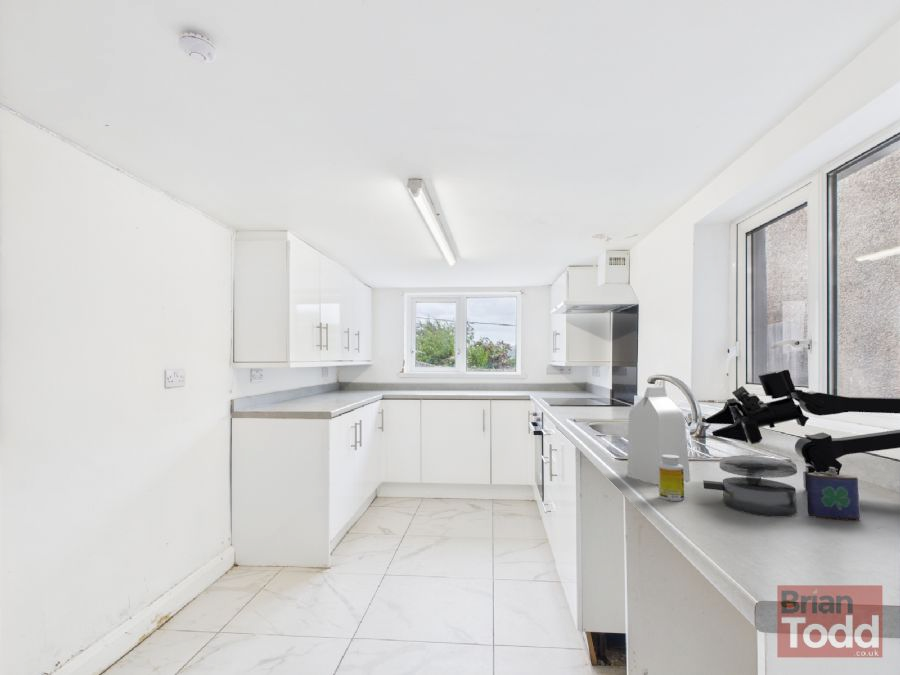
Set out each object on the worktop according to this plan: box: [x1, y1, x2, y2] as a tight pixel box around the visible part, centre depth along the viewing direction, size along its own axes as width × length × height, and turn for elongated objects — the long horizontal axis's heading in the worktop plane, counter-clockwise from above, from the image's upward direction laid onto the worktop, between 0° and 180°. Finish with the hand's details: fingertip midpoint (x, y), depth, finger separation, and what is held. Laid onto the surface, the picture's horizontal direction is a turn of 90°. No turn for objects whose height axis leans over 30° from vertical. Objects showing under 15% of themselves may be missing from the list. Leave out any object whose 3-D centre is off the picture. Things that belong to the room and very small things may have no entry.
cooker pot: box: [702, 476, 798, 517], centre depth 109 cm, size 18×16×5 cm
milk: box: [626, 386, 691, 486], centre depth 134 cm, size 12×12×26 cm
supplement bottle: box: [658, 455, 685, 502], centre depth 114 cm, size 6×6×10 cm
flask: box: [806, 467, 861, 521], centre depth 100 cm, size 9×3×11 cm, turn 74°
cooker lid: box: [718, 454, 798, 479], centre depth 109 cm, size 15×15×3 cm
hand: (709, 427), depth 128 cm, fingers open, 9 cm apart
